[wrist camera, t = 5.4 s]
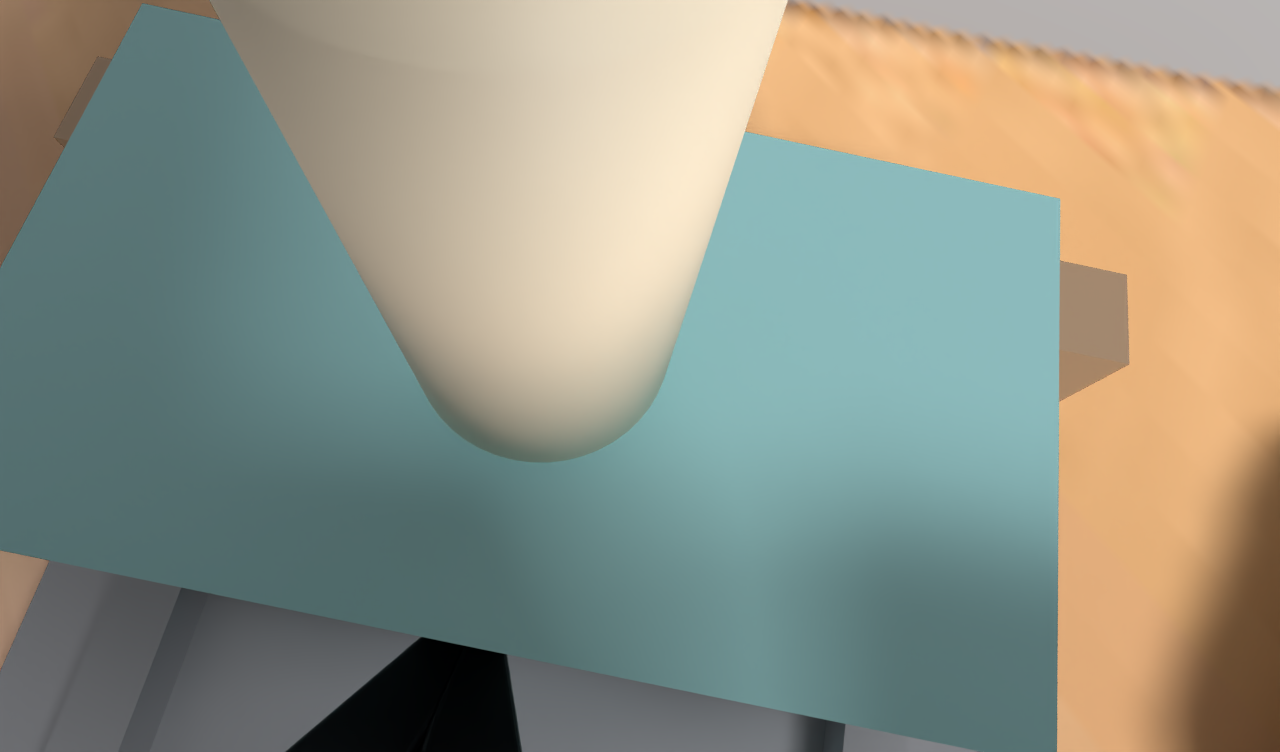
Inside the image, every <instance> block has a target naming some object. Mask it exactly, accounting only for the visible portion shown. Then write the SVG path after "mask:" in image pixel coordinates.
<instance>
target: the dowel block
mask: <svg viewBox="0 0 1280 752" xmlns="http://www.w3.org/2000/svg"><path fill="white" fill-rule="evenodd" d="M209 1H210V2H211V4H212V6H213V8H214V10H215V12H216V13H217V15H218V17H219V19H220V20H219V19H214V18H209V17H205V16H200V15H195V14H191V13H186V12H181V11H176V10H172V9H167V8H162V7H158V6H153V5H148V4H144V3H142V5H141V7H140V9H139V10H138V12H137V14H136V16H135V18H134V20H133V22H132V23H131V25H130V27H129V29H128V31H127V33H126V35H125V36H124V38H123V40H122V42H121V44H120V46H119V48H118V49H117V51H116V53H115V55H114V57H113V59H112V61H111V63H110V64H109V66H108V68H107V70H106V72H105V74H104V76H103V77H102V79H101V81H100V83H99V85H98V87H97V89H96V90H95V92H94V94H93V96H92V98H91V100H90V102H89V103H88V105H87V107H86V109H85V111H84V113H83V115H82V116H81V118H80V120H79V122H78V124H77V126H76V128H75V129H74V131H73V133H72V135H71V137H70V139H69V141H68V142H67V144H66V146H65V148H64V150H63V152H62V154H61V156H60V157H59V159H58V161H57V163H56V165H55V167H54V169H53V170H52V172H51V174H50V176H49V178H48V180H47V182H46V183H45V185H44V187H43V189H42V191H41V193H40V195H39V196H38V198H37V200H36V202H35V204H34V206H33V208H32V209H31V211H30V213H29V215H28V217H27V219H26V221H25V222H24V224H23V226H22V228H21V230H20V232H19V234H18V235H17V237H16V239H15V241H14V243H13V245H12V247H11V249H10V250H9V252H8V254H7V256H6V258H5V260H4V262H3V263H2V265H1V267H0V550H1V551H6V552H11V553H16V554H21V555H26V556H30V557H35V558H40V559H45V560H50V561H55V562H60V563H65V564H69V565H74V566H79V567H84V568H89V569H94V570H99V571H104V572H108V573H113V574H118V575H123V576H128V577H133V578H138V579H142V580H147V581H152V582H157V583H162V584H167V585H172V586H177V587H181V588H186V589H191V590H196V591H201V592H206V593H211V594H216V595H220V596H225V597H230V598H235V599H240V600H245V601H250V602H254V603H259V604H264V605H269V606H274V607H279V608H284V609H289V610H293V611H298V612H303V613H308V614H313V615H318V616H323V617H328V618H332V619H337V620H342V621H347V622H352V623H357V624H362V625H366V626H371V627H376V628H381V629H386V630H391V631H396V632H401V633H405V634H410V635H415V636H420V637H425V638H430V639H435V640H440V641H444V642H449V643H454V644H459V645H464V646H469V647H474V648H478V649H483V650H488V651H493V652H498V653H503V654H508V655H513V656H517V657H522V658H527V659H532V660H537V661H542V662H547V663H552V664H556V665H561V666H566V667H571V668H576V669H581V670H586V671H590V672H595V673H600V674H605V675H610V676H615V677H620V678H625V679H629V680H634V681H639V682H644V683H649V684H654V685H659V686H664V687H668V688H673V689H678V690H683V691H688V692H693V693H698V694H703V695H707V696H712V697H717V698H722V699H727V700H732V701H737V702H741V703H746V704H751V705H756V706H761V707H766V708H771V709H776V710H780V711H785V712H790V713H795V714H800V715H805V716H810V717H815V718H819V719H824V720H829V721H834V722H839V723H844V724H849V725H853V726H858V727H863V728H868V729H873V730H878V731H883V732H888V733H892V734H897V735H902V736H907V737H912V738H917V739H922V740H927V741H931V742H936V743H941V744H946V745H951V746H956V747H961V748H965V749H970V750H975V751H980V752H1057V641H1058V474H1059V307H1060V199H1059V198H1054V197H1049V196H1044V195H1040V194H1035V193H1030V192H1026V191H1021V190H1016V189H1012V188H1007V187H1002V186H998V185H993V184H988V183H983V182H979V181H974V180H969V179H965V178H960V177H955V176H951V175H946V174H941V173H937V172H932V171H927V170H922V169H918V168H913V167H908V166H904V165H899V164H894V163H890V162H885V161H880V160H876V159H871V158H866V157H861V156H857V155H852V154H847V153H843V152H838V151H833V150H829V149H824V148H819V147H815V146H810V145H805V144H800V143H796V142H791V141H786V140H782V139H777V138H772V137H768V136H763V135H758V134H754V133H749V132H745V130H746V127H747V123H748V120H749V117H750V114H751V111H752V108H753V105H754V102H755V99H756V96H757V93H758V90H759V87H760V84H761V81H762V78H763V75H764V71H765V68H766V65H767V62H768V59H769V56H770V53H771V50H772V47H773V44H774V41H775V38H776V35H777V32H778V29H779V26H780V22H781V19H782V16H783V13H784V10H785V7H786V4H787V1H788V0H209Z"/></svg>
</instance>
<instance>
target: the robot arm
mask: <svg viewBox="0 0 1280 752" xmlns="http://www.w3.org/2000/svg"><path fill="white" fill-rule="evenodd" d="M285 752H522V747H521V741H520V734H519V728H518V722H517V715H516V709H515V702H514V696H513V690H512V683H511V677H510V670H509V664H508V657H507V654H503V653H498V652H493V651H488V650H483V649H478V648H474V647H469V646H464V645H459V644H454V643H449V642H444V641H440V640H435V639H430V638H425V637H420V638H419V639H418V640H417V641H415V642H414V643H413V644H412V645H411V646H409V647H408V648H407V649H406V650H405V651H404V652H402V653H401V654H400V655H399V656H398V657H396V658H395V659H394V660H393V661H392V662H391V663H389V664H388V665H387V666H386V667H385V668H383V669H382V670H381V671H380V672H379V673H378V674H376V675H375V676H374V677H373V678H372V679H370V680H369V681H368V682H367V683H366V684H365V685H363V686H362V687H361V688H360V689H359V690H357V691H356V692H355V693H354V694H353V695H352V696H350V697H349V698H348V699H347V700H346V701H344V702H343V703H342V704H341V705H340V706H338V707H337V708H336V709H335V710H334V711H333V712H331V713H330V714H329V715H328V716H327V717H325V718H324V719H323V720H322V721H321V722H320V723H318V724H317V725H316V726H315V727H314V728H312V729H311V730H310V731H309V732H308V733H307V734H305V735H304V736H303V737H302V738H301V739H299V740H298V741H297V742H296V743H295V744H294V745H292V746H291V747H290V748H289V749H288V750H286V751H285Z"/></svg>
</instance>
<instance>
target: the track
mask: <svg viewBox="0 0 1280 752" xmlns="http://www.w3.org/2000/svg"><path fill="white" fill-rule="evenodd" d="M111 61H112V59H108V58H103V57H97V59H96V61H95V62H94V64H93V66H92V68H91V70H90V72H89V73H88V75H87V77H86V79H85V81H84V83H83V84H82V86H81V88H80V90H79V92H78V94H77V95H76V97H75V99H74V101H73V103H72V105H71V106H70V108H69V110H68V112H67V114H66V116H65V117H64V119H63V121H62V123H61V125H60V126H59V128H58V130H57V132H56V134H55V136H54V138H55V139H56V140H57V141H58V142H59V143H60V144H61V145H62V146H63V147H64V148H65V146H66V144H67V142H68V141H69V139H70V137H71V135H72V133H73V131H74V129H75V128H76V126H77V124H78V122H79V120H80V118H81V116H82V115H83V113H84V111H85V109H86V107H87V105H88V103H89V102H90V100H91V98H92V96H93V94H94V92H95V90H96V89H97V87H98V85H99V83H100V81H101V79H102V77H103V76H104V74H105V72H106V70H107V68H108V66H109V64H110V63H111ZM1127 365H1129V336H1128V300H1127V275H1125V274H1120V273H1116V272H1111V271H1106V270H1101V269H1097V268H1092V267H1087V266H1083V265H1078V264H1073V263H1069V262H1064V261H1060V307H1059V401H1061V400H1063V399H1065V398H1067V397H1069V396H1071V395H1073V394H1074V393H1076V392H1078V391H1080V390H1082V389H1084V388H1086V387H1088V386H1089V385H1091V384H1093V383H1095V382H1097V381H1099V380H1101V379H1103V378H1104V377H1106V376H1108V375H1110V374H1112V373H1114V372H1116V371H1118V370H1119V369H1121V368H1123V367H1125V366H1127ZM419 638H420V636H415V635H410V634H405V633H401V632H396V631H391V630H386V629H381V628H376V627H371V626H366V625H362V624H357V623H352V622H347V621H342V620H337V619H332V618H328V617H323V616H318V615H313V614H308V613H303V612H298V611H293V610H289V609H284V608H279V607H274V606H269V605H264V604H259V603H254V602H250V601H245V600H240V599H235V598H230V597H225V596H220V595H216V594H211V593H206V592H201V591H196V590H191V589H186V588H181V587H177V586H172V585H167V584H162V583H157V582H152V581H147V580H142V579H138V578H133V577H128V576H123V575H118V574H113V573H108V572H104V571H99V570H94V569H89V568H84V567H79V566H74V565H69V564H65V563H60V562H55V561H49V563H48V565H47V568H46V570H45V572H44V574H43V577H42V579H41V581H40V583H39V586H38V588H37V590H36V592H35V595H34V597H33V599H32V601H31V603H30V606H29V608H28V610H27V612H26V615H25V617H24V619H23V621H22V624H21V626H20V628H19V630H18V633H17V635H16V637H15V639H14V641H13V644H12V646H11V648H10V650H9V653H8V655H7V657H6V659H5V662H4V664H3V666H2V668H1V671H0V752H285V751H286V750H288V749H289V748H290V747H291V746H292V745H294V744H295V743H296V742H297V741H298V740H299V739H301V738H302V737H303V736H304V735H305V734H307V733H308V732H309V731H310V730H311V729H312V728H314V727H315V726H316V725H317V724H318V723H320V722H321V721H322V720H323V719H324V718H325V717H327V716H328V715H329V714H330V713H331V712H333V711H334V710H335V709H336V708H337V707H338V706H340V705H341V704H342V703H343V702H344V701H346V700H347V699H348V698H349V697H350V696H352V695H353V694H354V693H355V692H356V691H357V690H359V689H360V688H361V687H362V686H363V685H365V684H366V683H367V682H368V681H369V680H370V679H372V678H373V677H374V676H375V675H376V674H378V673H379V672H380V671H381V670H382V669H383V668H385V667H386V666H387V665H388V664H389V663H391V662H392V661H393V660H394V659H395V658H396V657H398V656H399V655H400V654H401V653H402V652H404V651H405V650H406V649H407V648H408V647H409V646H411V645H412V644H413V643H414V642H415V641H417V640H418V639H419ZM507 657H508V664H509V670H510V677H511V683H512V690H513V696H514V702H515V709H516V715H517V722H518V728H519V734H520V741H521V747H522V752H980V751H975V750H970V749H965V748H961V747H956V746H951V745H946V744H941V743H936V742H931V741H927V740H922V739H917V738H912V737H907V736H902V735H897V734H892V733H888V732H883V731H878V730H873V729H868V728H863V727H858V726H853V725H849V724H844V723H839V722H834V721H829V720H824V719H819V718H815V717H810V716H805V715H800V714H795V713H790V712H785V711H780V710H776V709H771V708H766V707H761V706H756V705H751V704H746V703H741V702H737V701H732V700H727V699H722V698H717V697H712V696H707V695H703V694H698V693H693V692H688V691H683V690H678V689H673V688H668V687H664V686H659V685H654V684H649V683H644V682H639V681H634V680H629V679H625V678H620V677H615V676H610V675H605V674H600V673H595V672H590V671H586V670H581V669H576V668H571V667H566V666H561V665H556V664H552V663H547V662H542V661H537V660H532V659H527V658H522V657H517V656H513V655H508V654H507Z"/></svg>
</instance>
